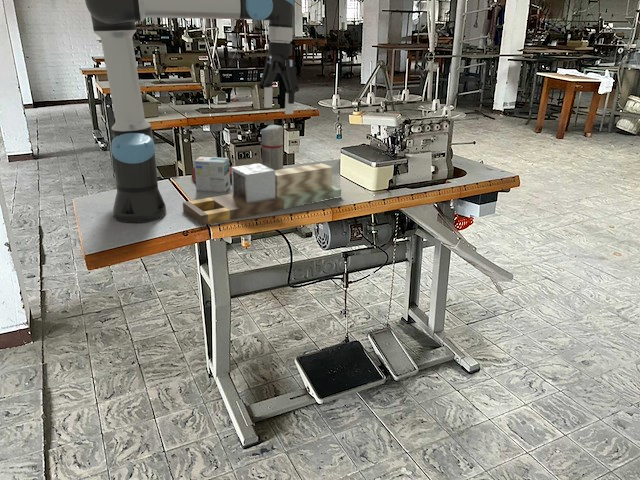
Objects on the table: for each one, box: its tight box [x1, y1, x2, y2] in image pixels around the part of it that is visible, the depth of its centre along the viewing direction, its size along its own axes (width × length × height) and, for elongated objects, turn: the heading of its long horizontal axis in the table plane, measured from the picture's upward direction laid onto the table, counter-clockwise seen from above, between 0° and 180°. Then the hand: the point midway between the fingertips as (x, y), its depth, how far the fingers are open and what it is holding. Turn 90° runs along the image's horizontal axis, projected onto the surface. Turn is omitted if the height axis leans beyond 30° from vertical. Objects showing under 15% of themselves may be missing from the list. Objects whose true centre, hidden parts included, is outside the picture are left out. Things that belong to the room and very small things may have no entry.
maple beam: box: [275, 162, 333, 197], centre depth 175 cm, size 22×6×7 cm, turn 126°
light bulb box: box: [194, 156, 231, 193], centre depth 182 cm, size 11×7×11 cm, turn 84°
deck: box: [182, 185, 342, 226], centre depth 169 cm, size 51×14×3 cm, turn 126°
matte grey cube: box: [231, 163, 275, 205], centre depth 165 cm, size 10×10×10 cm
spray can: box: [261, 124, 284, 170], centre depth 194 cm, size 8×8×20 cm
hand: (278, 110), depth 172 cm, fingers open, 13 cm apart
